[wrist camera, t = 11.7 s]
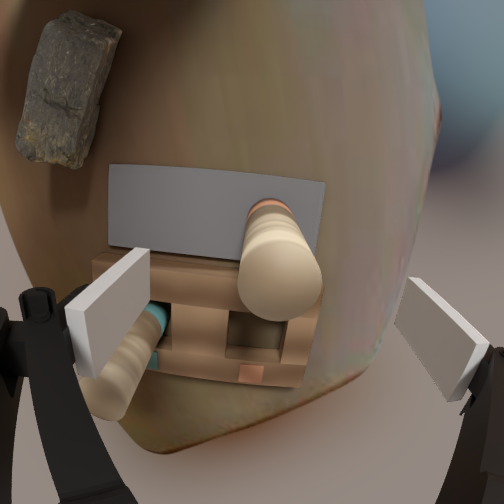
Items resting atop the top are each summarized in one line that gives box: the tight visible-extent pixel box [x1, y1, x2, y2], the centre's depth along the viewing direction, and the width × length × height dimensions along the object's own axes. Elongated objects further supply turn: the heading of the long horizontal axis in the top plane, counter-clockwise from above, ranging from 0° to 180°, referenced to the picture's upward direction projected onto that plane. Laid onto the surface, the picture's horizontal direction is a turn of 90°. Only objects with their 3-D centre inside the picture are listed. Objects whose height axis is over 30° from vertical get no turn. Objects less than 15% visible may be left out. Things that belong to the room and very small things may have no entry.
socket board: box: [91, 252, 324, 388], centre depth 31 cm, size 12×22×3 cm, turn 84°
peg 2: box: [237, 198, 322, 321], centre depth 21 cm, size 4×4×14 cm
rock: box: [15, 10, 122, 170], centre depth 22 cm, size 17×7×10 cm
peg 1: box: [79, 300, 170, 421], centre depth 25 cm, size 4×4×14 cm
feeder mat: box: [108, 164, 326, 260], centre depth 28 cm, size 8×20×1 cm, turn 84°
